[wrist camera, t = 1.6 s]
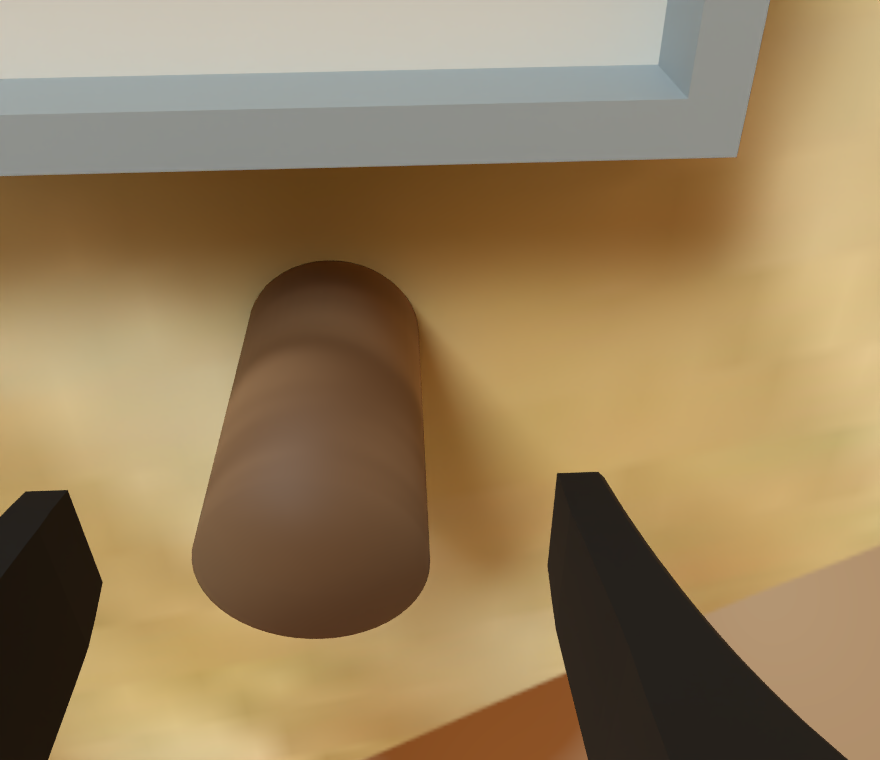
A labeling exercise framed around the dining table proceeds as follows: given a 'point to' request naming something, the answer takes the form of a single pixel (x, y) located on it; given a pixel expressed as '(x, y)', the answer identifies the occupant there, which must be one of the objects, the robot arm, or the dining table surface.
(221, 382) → the dining table surface
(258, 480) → the peg
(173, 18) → the crate
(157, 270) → the dining table surface
